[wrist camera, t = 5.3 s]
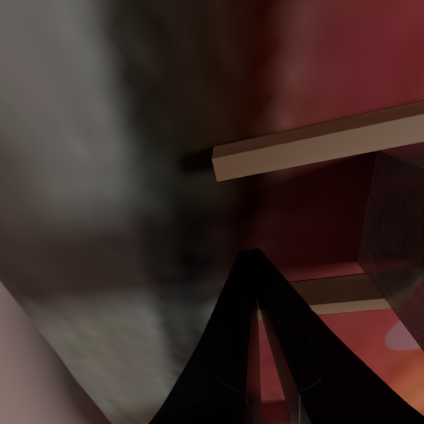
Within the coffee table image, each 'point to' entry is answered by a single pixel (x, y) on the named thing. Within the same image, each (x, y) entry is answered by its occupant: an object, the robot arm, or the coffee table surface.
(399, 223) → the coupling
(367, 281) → the cradle rails
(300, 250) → the coffee table surface
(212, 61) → the coffee table surface
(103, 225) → the coffee table surface
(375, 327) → the coffee table surface
